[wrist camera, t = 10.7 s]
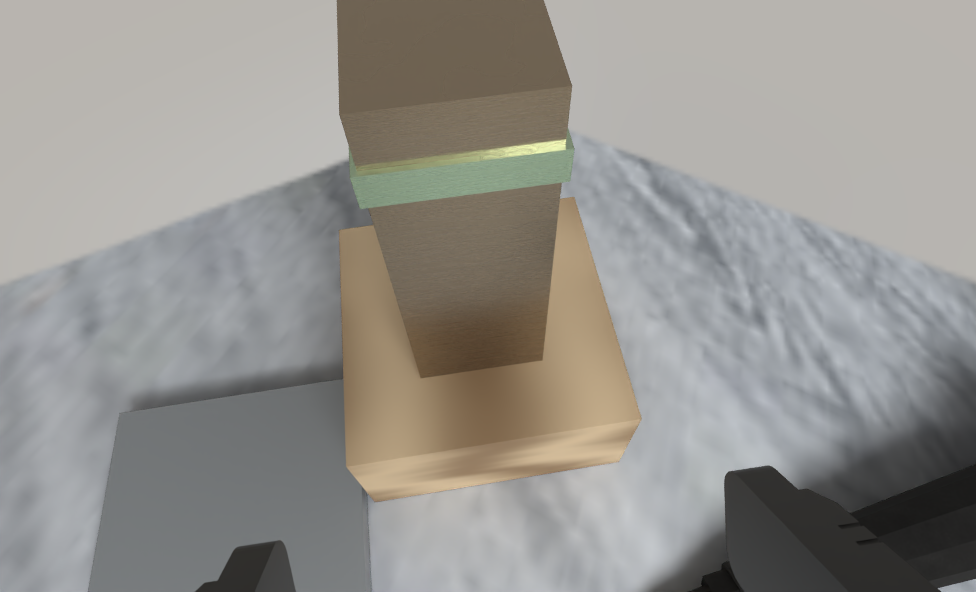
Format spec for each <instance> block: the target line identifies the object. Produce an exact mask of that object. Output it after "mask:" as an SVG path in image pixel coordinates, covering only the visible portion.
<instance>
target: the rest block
mask: <svg viewBox="0 0 976 592" xmlns="http://www.w3.org/2000/svg"><path fill="white" fill-rule="evenodd" d="M339 247H340V280H341V313H342V346H343V379H344V412H345V445H346V467H347V469H348V470H349V471H350V472H351V473H352V475H353V476H354V477H355V478H356V480H357V481H358V482H359V483H360V484H361V486H362V487H363V488H364V489H365V490H366V492H367V493H368V494H369V495H370V497H371V498H372V499H373V500H374V501H375V502H379V501H385V500H391V499H397V498H403V497H409V496H415V495H421V494H428V493H434V492H440V491H446V490H452V489H458V488H464V487H470V486H476V485H482V484H488V483H494V482H500V481H506V480H512V479H518V478H524V477H530V476H536V475H542V474H548V473H554V472H560V471H566V470H572V469H578V468H584V467H590V466H596V465H602V464H608V463H614V462H619V460H620V459H621V457H622V455H623V453H624V451H625V449H626V447H627V446H628V444H629V442H630V440H631V438H632V436H633V434H634V432H635V431H636V429H637V427H638V425H639V423H640V421H641V419H642V418H641V415H640V412H639V409H638V405H637V402H636V399H635V395H634V392H633V389H632V386H631V382H630V379H629V376H628V372H627V369H626V366H625V363H624V359H623V356H622V353H621V349H620V346H619V343H618V339H617V336H616V333H615V330H614V326H613V323H612V320H611V316H610V313H609V310H608V307H607V303H606V300H605V297H604V293H603V290H602V287H601V284H600V280H599V277H598V274H597V270H596V267H595V264H594V261H593V257H592V254H591V251H590V247H589V244H588V241H587V237H586V234H585V231H584V228H583V224H582V221H581V218H580V214H579V211H578V208H577V205H576V201H575V198H574V197H570V198H563V199H560V203H559V212H558V221H557V231H556V240H555V249H554V259H553V268H552V277H551V286H550V296H549V305H548V314H547V324H546V333H545V342H544V352H543V361H536V362H529V363H522V364H515V365H509V366H502V367H495V368H488V369H481V370H475V371H468V372H461V373H454V374H447V375H441V376H434V377H427V378H421V377H420V374H419V371H418V368H417V364H416V361H415V358H414V355H413V351H412V348H411V345H410V342H409V338H408V335H407V332H406V329H405V326H404V322H403V319H402V316H401V313H400V309H399V306H398V303H397V300H396V296H395V293H394V290H393V287H392V283H391V280H390V277H389V274H388V270H387V267H386V264H385V261H384V257H383V254H382V251H381V248H380V245H379V241H378V238H377V235H376V232H375V228H374V225H370V226H363V227H356V228H349V229H342V230H339Z"/></svg>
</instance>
